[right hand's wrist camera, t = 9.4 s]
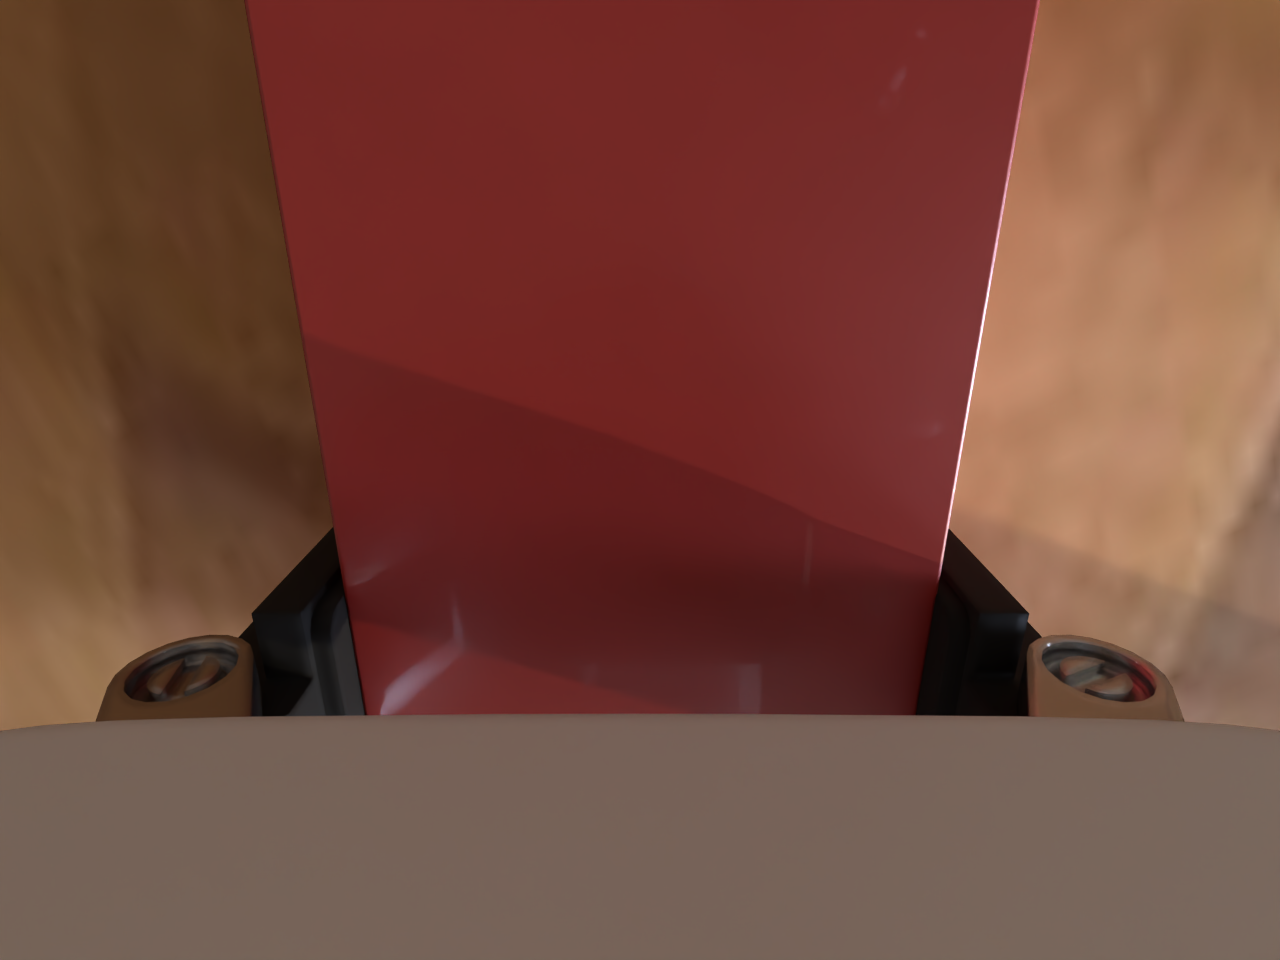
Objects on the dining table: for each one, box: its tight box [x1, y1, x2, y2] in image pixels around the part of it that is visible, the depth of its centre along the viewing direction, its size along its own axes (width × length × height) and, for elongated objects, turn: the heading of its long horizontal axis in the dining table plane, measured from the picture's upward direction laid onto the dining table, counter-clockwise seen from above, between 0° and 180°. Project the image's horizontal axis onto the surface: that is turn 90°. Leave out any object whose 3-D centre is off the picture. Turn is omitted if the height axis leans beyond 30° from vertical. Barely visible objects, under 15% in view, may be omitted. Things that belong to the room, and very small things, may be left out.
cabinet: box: [244, 0, 1040, 715], centre depth 10 cm, size 20×7×8 cm, turn 0°
